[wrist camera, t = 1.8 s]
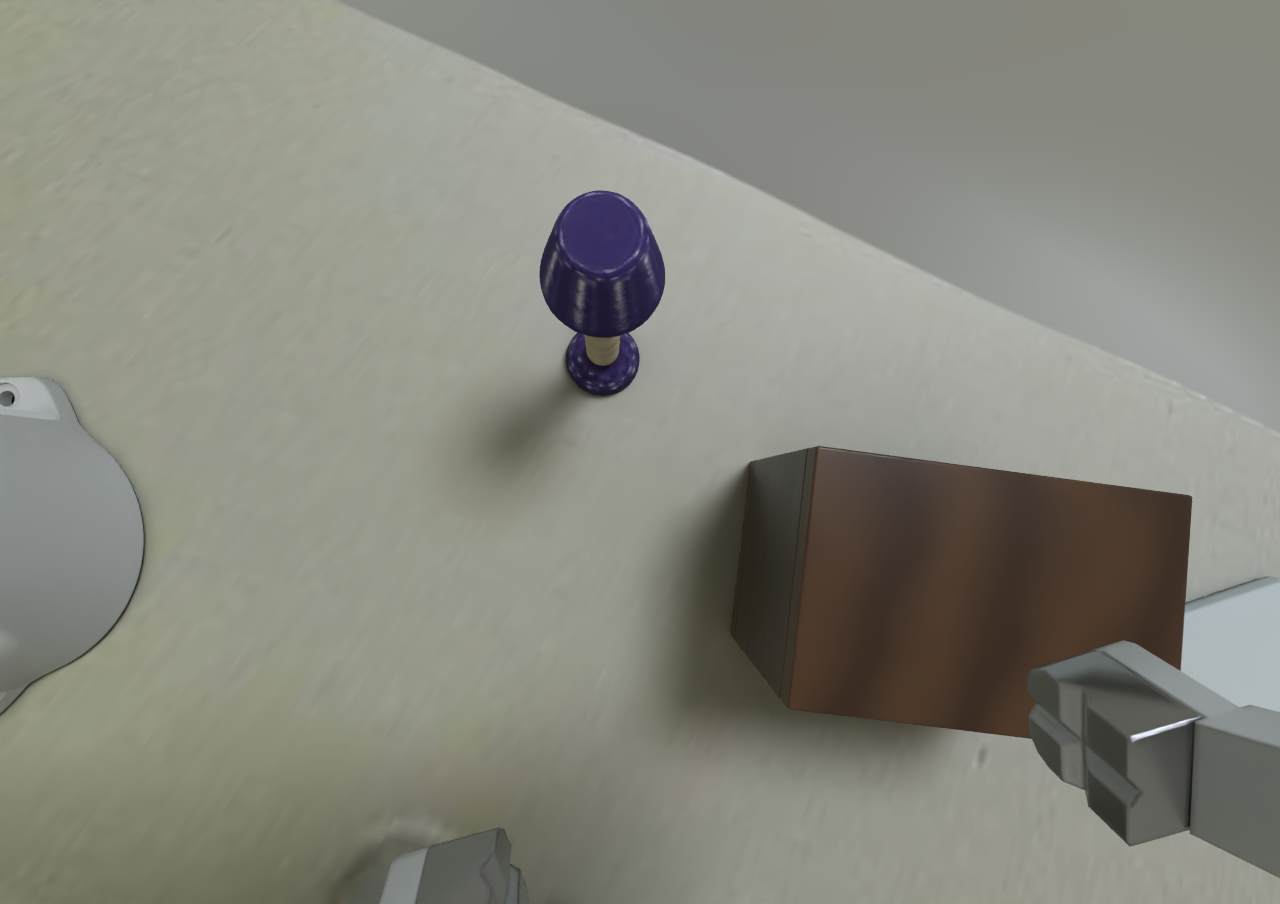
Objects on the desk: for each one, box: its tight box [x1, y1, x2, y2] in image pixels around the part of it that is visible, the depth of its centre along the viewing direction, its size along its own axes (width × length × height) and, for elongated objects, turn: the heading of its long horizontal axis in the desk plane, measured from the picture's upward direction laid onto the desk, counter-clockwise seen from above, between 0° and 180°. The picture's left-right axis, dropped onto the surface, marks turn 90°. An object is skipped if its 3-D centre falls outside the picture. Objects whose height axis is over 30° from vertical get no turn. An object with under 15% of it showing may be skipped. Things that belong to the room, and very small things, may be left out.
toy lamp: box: [540, 191, 665, 395], centre depth 27 cm, size 5×5×17 cm
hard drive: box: [1181, 577, 1280, 712], centre depth 35 cm, size 2×8×12 cm
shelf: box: [730, 446, 1192, 739], centre depth 29 cm, size 15×10×12 cm, turn 83°
